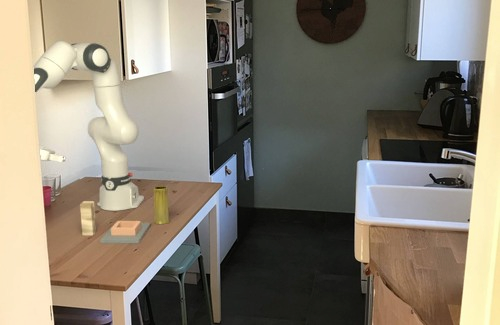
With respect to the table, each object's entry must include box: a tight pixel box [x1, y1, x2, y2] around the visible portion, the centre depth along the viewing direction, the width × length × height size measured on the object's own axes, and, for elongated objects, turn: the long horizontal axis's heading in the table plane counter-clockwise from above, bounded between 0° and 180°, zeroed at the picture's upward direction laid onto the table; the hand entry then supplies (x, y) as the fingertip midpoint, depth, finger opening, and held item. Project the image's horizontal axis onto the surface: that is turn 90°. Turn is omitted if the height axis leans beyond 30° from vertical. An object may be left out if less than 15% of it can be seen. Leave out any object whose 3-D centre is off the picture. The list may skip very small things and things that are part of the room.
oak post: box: [79, 200, 97, 236], centre depth 209 cm, size 4×4×12 cm
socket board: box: [99, 220, 152, 244], centre depth 210 cm, size 20×14×4 cm
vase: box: [153, 185, 171, 225], centre depth 221 cm, size 6×6×14 cm
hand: (64, 159), depth 206 cm, fingers open, 8 cm apart
